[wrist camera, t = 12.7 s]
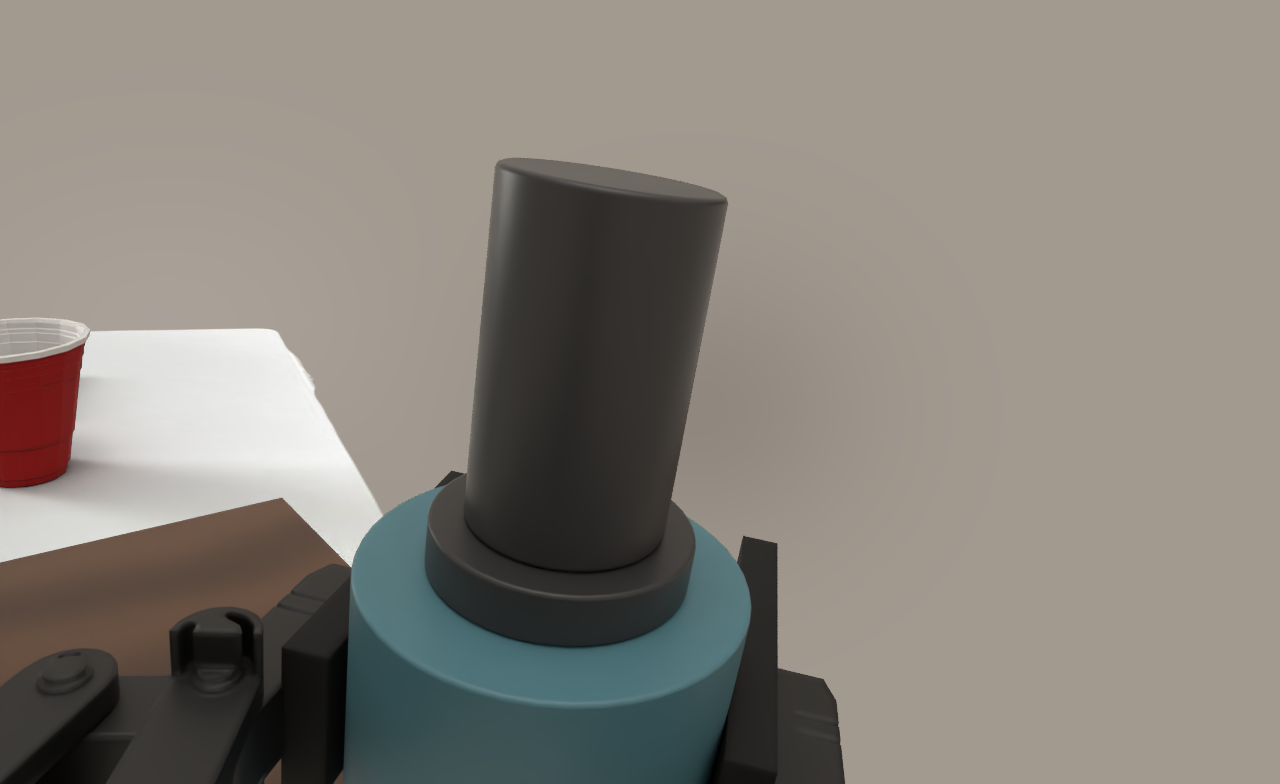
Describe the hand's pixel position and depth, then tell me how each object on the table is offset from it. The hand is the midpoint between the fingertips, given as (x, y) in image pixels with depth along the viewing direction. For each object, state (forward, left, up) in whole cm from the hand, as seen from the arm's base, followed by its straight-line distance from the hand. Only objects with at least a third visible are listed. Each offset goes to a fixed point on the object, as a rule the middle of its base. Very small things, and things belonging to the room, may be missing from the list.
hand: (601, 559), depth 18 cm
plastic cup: (-63, -2, -26) cm, 68 cm away
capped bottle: (+3, -4, -9) cm, 10 cm away
